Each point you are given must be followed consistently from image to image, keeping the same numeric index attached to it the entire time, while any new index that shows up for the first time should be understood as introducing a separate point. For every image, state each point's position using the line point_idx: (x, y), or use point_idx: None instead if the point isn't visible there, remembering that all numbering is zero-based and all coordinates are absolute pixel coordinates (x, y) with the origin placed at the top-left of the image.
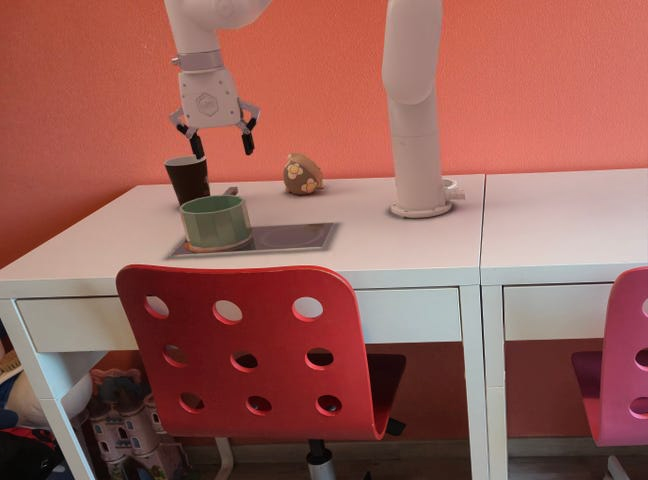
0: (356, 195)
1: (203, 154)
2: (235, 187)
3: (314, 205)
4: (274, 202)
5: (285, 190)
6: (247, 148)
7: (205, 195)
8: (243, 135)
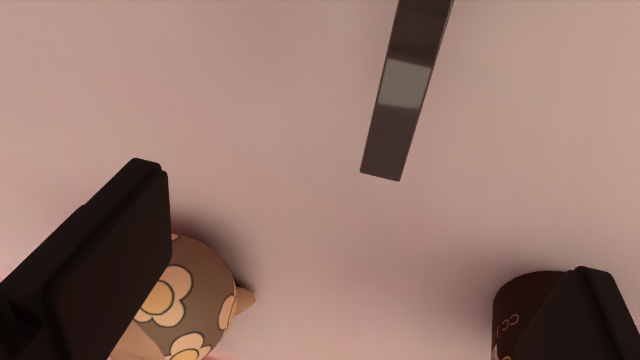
0: (40, 184)
1: (528, 341)
2: (367, 160)
3: (142, 143)
4: (282, 229)
5: (254, 297)
6: (104, 187)
7: (513, 311)
8: (22, 284)
